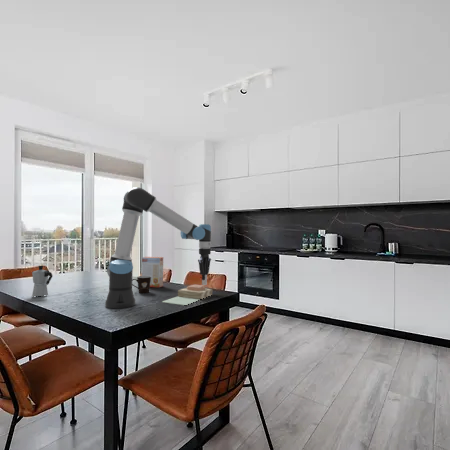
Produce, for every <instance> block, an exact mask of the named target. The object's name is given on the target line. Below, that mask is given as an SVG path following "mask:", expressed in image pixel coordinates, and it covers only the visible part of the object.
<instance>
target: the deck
mask: <svg viewBox="0 0 450 450" xmlns="http://www.w3.org/2000/svg"><path fill="white" fill-rule="evenodd" d="M211 295H212V296H213V288H207V287H205V289H203V290H200V291H193V290H187V287H184V288H180V289H178V290H177V296H178V297H185V298H193V299H202V300H204V299H207V298H209V297H208V296H210V297H211ZM206 297H207V298H206ZM203 298H204V299H203Z"/></svg>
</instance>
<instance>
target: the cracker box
mask: <svg viewBox="0 0 450 450" xmlns="http://www.w3.org/2000/svg"><path fill="white" fill-rule="evenodd" d="M141 276H151V281H150V288H156V289H157V288H162V287H164V257H162V256H143V257H142V256H141Z"/></svg>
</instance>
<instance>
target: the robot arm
mask: <svg viewBox="0 0 450 450" xmlns="http://www.w3.org/2000/svg"><path fill="white" fill-rule="evenodd" d="M121 208H122V209H121V210H122V212H123V215H122V220H121V223H120V229H119V233H118V238H117V242H116V247H115V251H114V253H113V254H111V256H110V260H109V263H108V266H107V269H106V273H107V276H108V277H109V278H108V279H109V281H108V293H107V298H106V300H105V301H104V307H105V308H108V309H127V308H130V307H134V306H135V305H136V298H135V295H134V292H133V285H132V284H133V281H132V280H133V269H134V265H133V262H132V260H133V259H132V257H131V255H132V253H131V252H132V250H133V244H134V239H135V236H136V235H135V234H136V231H137V227H138V222H139V218H140V216H141V215H143V211H144V212H146V213H148V212H149V213H151V214H152V215H154V216H155V217H158V218H159V219H160V220H162V221H164V222H166V224H169V225H171V226H172V227H174V228H176V229H177V230H179V231H180V237H181V239H182V240H195V241H198V248H199V249H198V254H199V255H200V256H199V257H200V258H199V259H198V260H197V262H198V269H199V274H200V275H201V285H204V286H207V284H208V282H207V281H208V275H209V273H210V266H211V261H212V259H211V258H210V256H209V255H211V252H212V251H211V245H212V241H211V239H212V237H211V235H212V228H211V227H212V226H211V224H209V223H208V224H207V223H202V224H201V223H200V224H199V226H198V225H197V224H195V223H194V222H192V221H191V220H188V219H187V218H185V217H184V216H183V215H181V214H179V213H177V212H176V211H174V210H173V209H171V208H170V207H168V206H166V205H165V204H163V203H162V202H160V201H159V200H157V197H156V196H154V195H153V194H151V193H150V192H148V191H146V190H145V189H144V188H142V187H132V188H130V189H129V190H128V191H127V192H125V194H124V196H123V205H122V207H121Z"/></svg>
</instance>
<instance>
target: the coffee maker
mask: <svg viewBox="0 0 450 450" xmlns="http://www.w3.org/2000/svg"><path fill="white" fill-rule="evenodd" d="M43 268H44V265H38V269H37V270H33V271H32V272H31V274H32V282H33V289H32V294H31V297H32V296H44V295H48V296H49V291H48V285H49V284H50V282H51V280H52V278H53V273H52V272H51V271H50V270H47V269H46V270H45V269H43Z"/></svg>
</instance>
